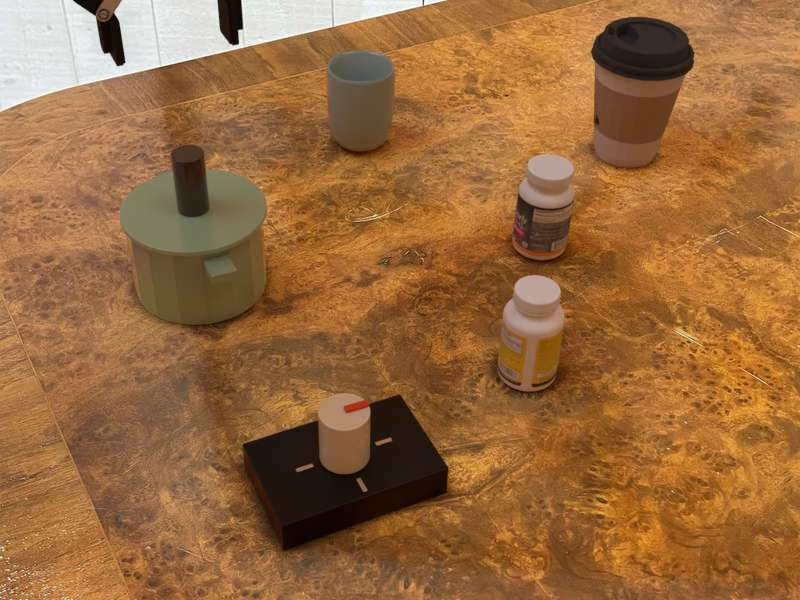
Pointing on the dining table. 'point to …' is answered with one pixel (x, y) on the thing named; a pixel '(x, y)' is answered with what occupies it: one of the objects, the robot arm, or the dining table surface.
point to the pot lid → (192, 208)
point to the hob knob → (344, 433)
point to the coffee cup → (636, 87)
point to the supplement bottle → (531, 334)
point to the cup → (360, 99)
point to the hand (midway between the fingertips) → (174, 48)
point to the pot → (200, 281)
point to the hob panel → (343, 475)
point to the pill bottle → (544, 207)
